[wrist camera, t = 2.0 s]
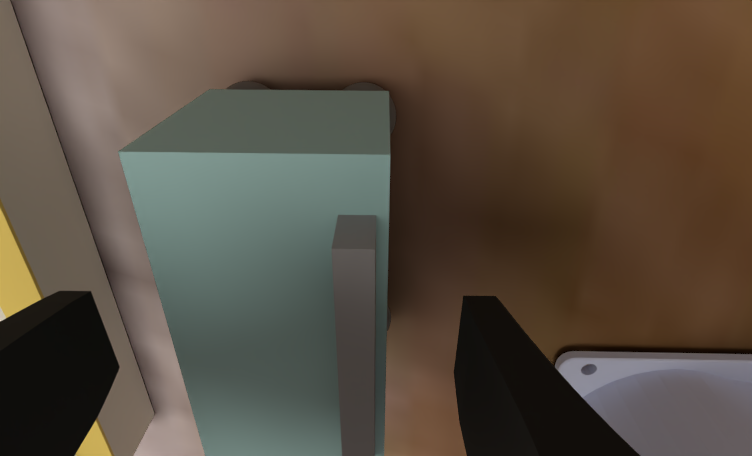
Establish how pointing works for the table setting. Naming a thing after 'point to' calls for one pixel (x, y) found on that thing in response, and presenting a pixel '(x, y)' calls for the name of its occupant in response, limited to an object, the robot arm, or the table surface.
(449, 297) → the table surface
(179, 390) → the table surface
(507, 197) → the table surface
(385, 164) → the teal rolling suitcase
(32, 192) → the dock
